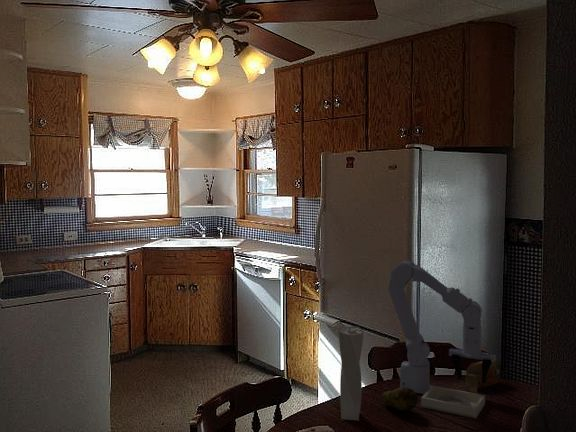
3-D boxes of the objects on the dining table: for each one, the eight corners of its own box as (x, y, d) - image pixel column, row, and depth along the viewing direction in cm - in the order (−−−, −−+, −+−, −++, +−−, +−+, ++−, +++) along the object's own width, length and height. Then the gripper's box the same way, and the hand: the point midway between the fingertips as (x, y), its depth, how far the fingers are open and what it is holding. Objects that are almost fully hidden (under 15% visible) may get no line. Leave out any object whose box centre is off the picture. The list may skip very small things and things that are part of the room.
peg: (464, 397, 175) (464, 376, 175) (467, 394, 178) (467, 373, 178) (475, 399, 173) (475, 378, 173) (478, 396, 177) (478, 375, 176)
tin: (471, 390, 182) (471, 365, 182) (464, 387, 185) (464, 363, 184) (502, 383, 189) (502, 359, 189) (494, 380, 192) (495, 357, 191)
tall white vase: (362, 423, 156) (363, 327, 155) (337, 421, 157) (337, 326, 156) (363, 412, 163) (364, 321, 162) (339, 410, 165) (339, 320, 164)
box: (421, 407, 167) (421, 397, 167) (433, 394, 178) (433, 385, 178) (475, 418, 158) (476, 408, 158) (484, 404, 169) (485, 395, 169)
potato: (403, 401, 172) (403, 377, 171) (422, 417, 159) (422, 391, 159) (378, 404, 170) (379, 379, 169) (396, 420, 157) (396, 393, 157)
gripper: (446, 339, 176) (446, 379, 176) (492, 345, 168) (492, 387, 168) (452, 334, 182) (451, 373, 182) (497, 340, 174) (496, 381, 174)
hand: (471, 380), depth 176 cm, fingers open, 7 cm apart
